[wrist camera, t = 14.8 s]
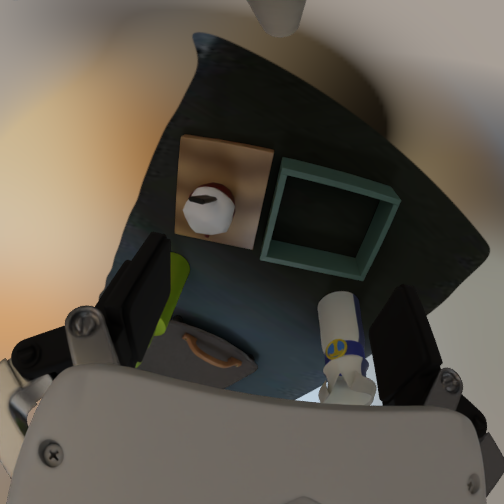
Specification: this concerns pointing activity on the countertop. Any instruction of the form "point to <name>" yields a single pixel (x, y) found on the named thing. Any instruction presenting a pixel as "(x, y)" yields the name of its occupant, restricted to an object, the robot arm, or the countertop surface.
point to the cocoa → (210, 209)
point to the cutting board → (224, 183)
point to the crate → (323, 259)
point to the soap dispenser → (172, 292)
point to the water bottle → (344, 351)
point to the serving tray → (196, 357)
